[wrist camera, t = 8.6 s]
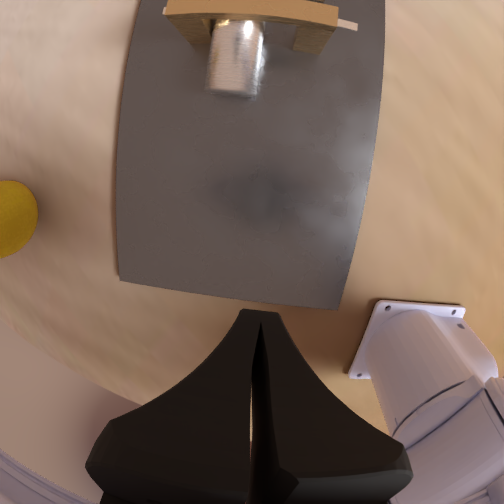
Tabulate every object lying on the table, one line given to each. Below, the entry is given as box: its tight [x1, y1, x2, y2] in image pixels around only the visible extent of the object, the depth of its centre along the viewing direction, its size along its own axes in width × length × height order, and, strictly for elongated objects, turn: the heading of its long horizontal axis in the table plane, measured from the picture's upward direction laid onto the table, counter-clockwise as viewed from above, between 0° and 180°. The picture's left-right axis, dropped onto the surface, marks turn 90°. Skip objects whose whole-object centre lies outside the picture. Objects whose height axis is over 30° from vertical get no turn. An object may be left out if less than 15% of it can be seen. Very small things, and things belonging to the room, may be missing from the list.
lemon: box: [0, 181, 38, 258], centre depth 15 cm, size 6×6×8 cm
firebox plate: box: [116, 0, 385, 310], centre depth 13 cm, size 16×25×5 cm, turn 173°
